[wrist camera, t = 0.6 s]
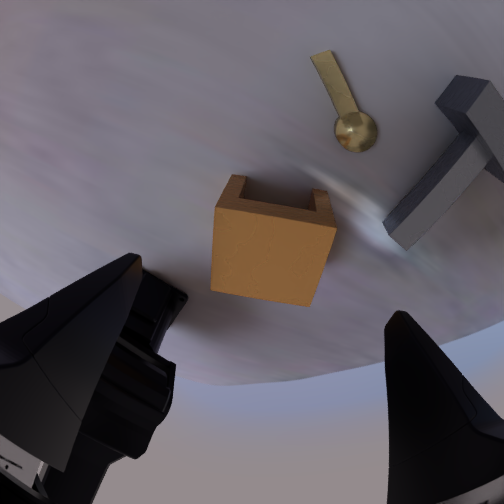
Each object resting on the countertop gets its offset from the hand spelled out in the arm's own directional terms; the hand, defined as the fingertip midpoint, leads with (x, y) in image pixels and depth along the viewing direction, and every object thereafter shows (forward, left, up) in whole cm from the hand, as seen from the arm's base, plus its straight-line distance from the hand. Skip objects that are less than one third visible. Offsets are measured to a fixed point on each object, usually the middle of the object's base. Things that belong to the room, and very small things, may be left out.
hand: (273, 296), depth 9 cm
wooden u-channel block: (-3, -1, -11) cm, 12 cm away
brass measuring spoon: (+7, +1, -12) cm, 13 cm away
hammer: (+8, -8, -11) cm, 16 cm away
